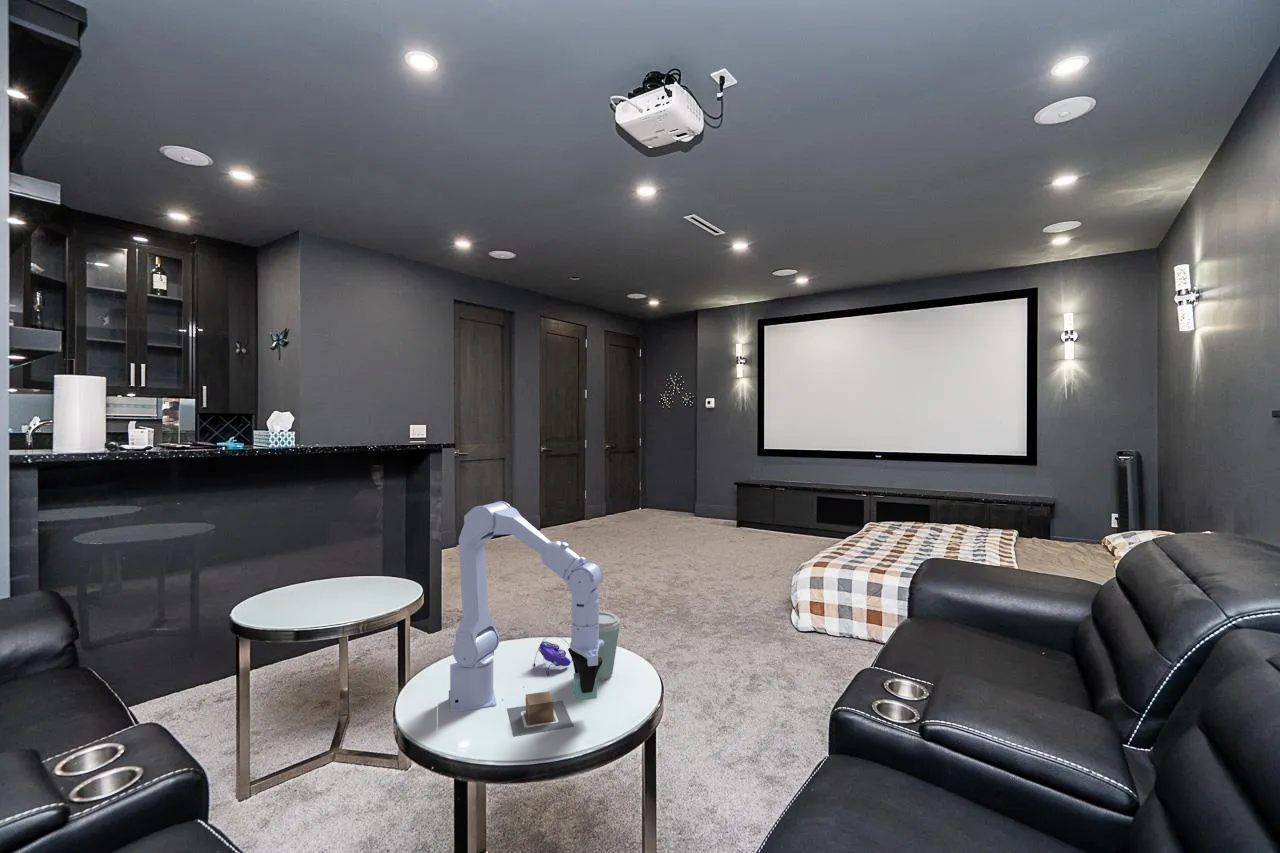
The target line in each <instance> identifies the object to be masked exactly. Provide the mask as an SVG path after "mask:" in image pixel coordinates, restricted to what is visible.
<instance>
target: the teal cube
mask: <svg viewBox="0 0 1280 853" xmlns="http://www.w3.org/2000/svg"><path fill="white" fill-rule="evenodd" d="M597 692H598V680H597V678H596V679H595V683H594V688H593V691H592V692H590V693H582V690H581V686H580V678H579V673H575V672H574V673H573V695H574V697H575V698H576V701H577V702H580V701H581V702H582V701H587V700H588V701H589V700H593V699H594V700H596V699H598V698H597V697H598V694H597Z"/></svg>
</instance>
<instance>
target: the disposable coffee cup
mask: <svg viewBox="0 0 1280 853" xmlns="http://www.w3.org/2000/svg"><path fill="white" fill-rule="evenodd" d="M620 627H621V619H620V618H619V616H617V615H616V614H614V613H612V612H608V611H600V610H599V640H603V641H604V646H600V647H599V651H598V657H601V658H602V660H603V661H602V665H601V666H600V668H599V670H598V672H597V675H596V678H597V681H605V680H608V679H609V678H611V677H612V675H613V674H614V673H613V672H614V666H615V659H616V653H617V645H618V640H619V632H620Z"/></svg>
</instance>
